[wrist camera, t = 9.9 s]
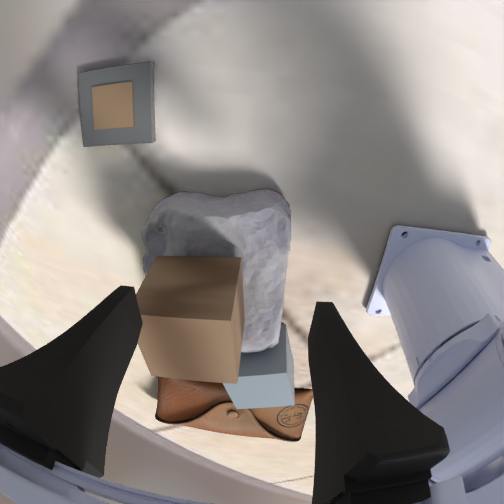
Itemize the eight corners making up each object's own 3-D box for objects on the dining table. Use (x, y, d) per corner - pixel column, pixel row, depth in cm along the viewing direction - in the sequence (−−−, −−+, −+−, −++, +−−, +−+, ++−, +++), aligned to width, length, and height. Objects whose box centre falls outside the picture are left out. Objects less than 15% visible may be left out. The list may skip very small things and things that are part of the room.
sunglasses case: (322, 387, 30) (315, 447, 27) (305, 389, 36) (299, 439, 33) (151, 363, 30) (141, 424, 27) (163, 369, 36) (155, 419, 33)
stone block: (176, 304, 28) (287, 326, 25) (152, 340, 24) (275, 370, 21) (160, 175, 22) (300, 186, 19) (121, 198, 18) (289, 216, 15)
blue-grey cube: (285, 323, 25) (286, 372, 21) (293, 360, 28) (294, 405, 24) (227, 330, 26) (219, 377, 22) (241, 365, 29) (236, 409, 24)
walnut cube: (241, 257, 18) (230, 320, 13) (244, 321, 20) (237, 383, 16) (157, 255, 18) (126, 313, 14) (171, 317, 21) (151, 375, 16)
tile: (153, 61, 15) (149, 61, 14) (155, 140, 18) (151, 143, 17) (83, 72, 15) (77, 73, 14) (88, 144, 18) (82, 147, 17)
